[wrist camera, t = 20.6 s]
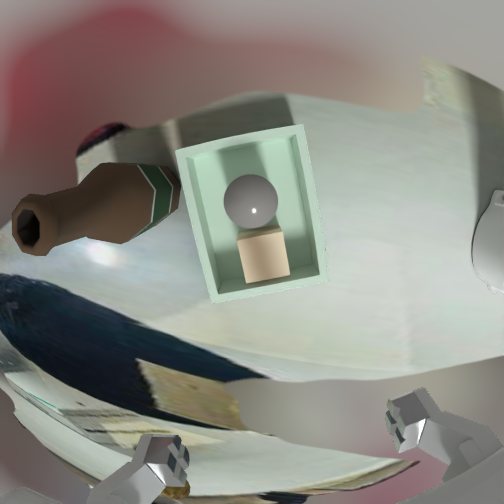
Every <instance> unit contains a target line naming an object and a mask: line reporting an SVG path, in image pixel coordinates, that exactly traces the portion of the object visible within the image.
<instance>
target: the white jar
mask: <svg viewBox="0 0 504 504" xmlns="http://www.w3.org/2000/svg"><path fill="white" fill-rule="evenodd" d="M277 207H278V195H277V192H276V190H275V188H274V186H273V185H272V184H271V183H270V182H269V181H268V180H267V179H265V178H264V177H262V176H259V175H254V174H248V175H243V176H240V177H238V178H236V179H235V180H233V181H232V182H231V183H230V184H229V186H228V187H227V189H226V191H225V194H224V209H225V212H226V214H227V215H228V217H229V218H230V219H231V220H232V221H233V222H234V223H235V224H237V225H239V226H241V227H244V228H258V227H261V226H263V225H265V224H267V223H268V222H269V221H270V220H271V219H272V218H273V217H274V215H275V213H276V211H277Z"/></svg>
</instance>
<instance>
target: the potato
mask: <svg viewBox="0 0 504 504" xmlns="http://www.w3.org/2000/svg"><path fill="white" fill-rule="evenodd" d="M161 493H162V494H163V495H165V496H166V497H169V498H171V499H182V498H185V497H187V496H188V495H189V493H190V485H189V483H188V481H187V480H186V483H185V487H172V486H165V489H164V490H163V491H162V492H161Z"/></svg>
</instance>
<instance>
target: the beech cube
mask: <svg viewBox="0 0 504 504" xmlns="http://www.w3.org/2000/svg"><path fill="white" fill-rule="evenodd" d="M237 244H238V249H239V253H240V258H241V262H242V267H243V271H244V276H245V280H246V283H252V282H257V281H262V280H267V279H272V278H278V277H283V276H288V275H290V270H289V264H288V259H287V253H286V247H285V242H284V236H283V231H282V229H281V227H280V226H279V224H275V225H270V226H265V227H260V228H254V229H249V230H244V231H239V233H238V237H237Z"/></svg>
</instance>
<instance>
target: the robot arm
mask: <svg viewBox="0 0 504 504" xmlns="http://www.w3.org/2000/svg"><path fill="white" fill-rule="evenodd" d="M472 256H473V265H474V268H475V271H476V273H477V275H478V277H479V278H480V279H481V280H483V281H484V282H486V283H487V285H488V288H489V290H490V291H491V292H492V293H497V292H498V291H502V292H504V191H503V190H498V189H497V190H495V191H494V193H493V195H492V198H491V202H490V205H489V207H488V208H487V210H486V211H485V212H484V214H483V215H482V217H481V219H480V221H479V223H478V226H477V229H476V232H475V236H474V241H473V250H472ZM387 407H388V409H389V410H388V411H387V413H386V418H385V420H386V426H387V429H388V431H389V433H390V434H391V435H393V436H394V440H393V442H394V445H395V447H396V449H397V451H398V453H400V452H403V451H406V450H409V449H412V448H414V447H417V446H418V447H419V448H420V449H422V450H424V451H425V452H427V453H429V454H430V455H432V456H434V457H435V458H437V459H439V460H440V461H442V462H444V463H446V464H447V465H449V467H448V468H447V470H446V472H445V474H444V475H443V477H442V479H443V481H444V483H442V484H440V485H438V486H436V487H434V488H432V489H430V490H427V491H425V492H423V493H420V494H418V495H416V496H414V497H411V498H409V499H406V500H404V501H401V502H398V503H396V504H504V446H503V445H502V443H501V442H500V441H499V439H498V438H497V436H496V435H495V433H494V432H493V431H492V429H491V428H490V427H489V426H486V425H483V424H480V423H477V422H474V421H472V420H469V419H466V418H463V417H460V416H458V415H455V414H452V413H450V412H447V411H443V412H442V411H441V410H440V409H439V407H438V406H437V404H436V403H435V401H434V400H433V399H432V397H431V396H430V394H429V393H428V391H427V390H426V389H425V388H424V387H421V388H418V389H416V390H413V391H410V392H407V393H405V394H402V395H399V396H397V397H394V398H391V399H389V400H388V402H387ZM181 441H182V440H181V438H180V437H179V435H162V434H143V435H142V436H141V437H140V440H139V442H138V445H137V448H136V450H135V453H134V456H133V459H132V461H131V462H127V463H126V464H125V465H124V466H122V467H121V468H120V469H118V470H117V471H116V472H114V473H113V474H112V475H110V476H109V477H108V478H106V479H105V480H103V481H102V482H101V483H99V484H98V485H96V486H95V487H94V488H92V489H91V492H90V494H89V497H88V499H87V501H86V504H151V503H152V502H153V500H154V499H155V498H156V497H157V496H158V495H159V494H160V493H161V492H162V491H163V490H164V489H165V486H172V487H185V483H186V478H187V474H186V472H185V471H184V470H185V469H186V468H187V467H188V466H189V461H190V459H189V452H188V450H187V448H186V446H184V445H182V444H181ZM0 504H63V503H61V502H58V501H55V500H53V499H51V498H48V497H46V496H43V495H41V494H39V493H36V492H35V491H32V490H30V489H28V488H25V487H20V488H17V489H15V490H12V491H10V492H8V493H6V494H4V495H2V496H0Z"/></svg>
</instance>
